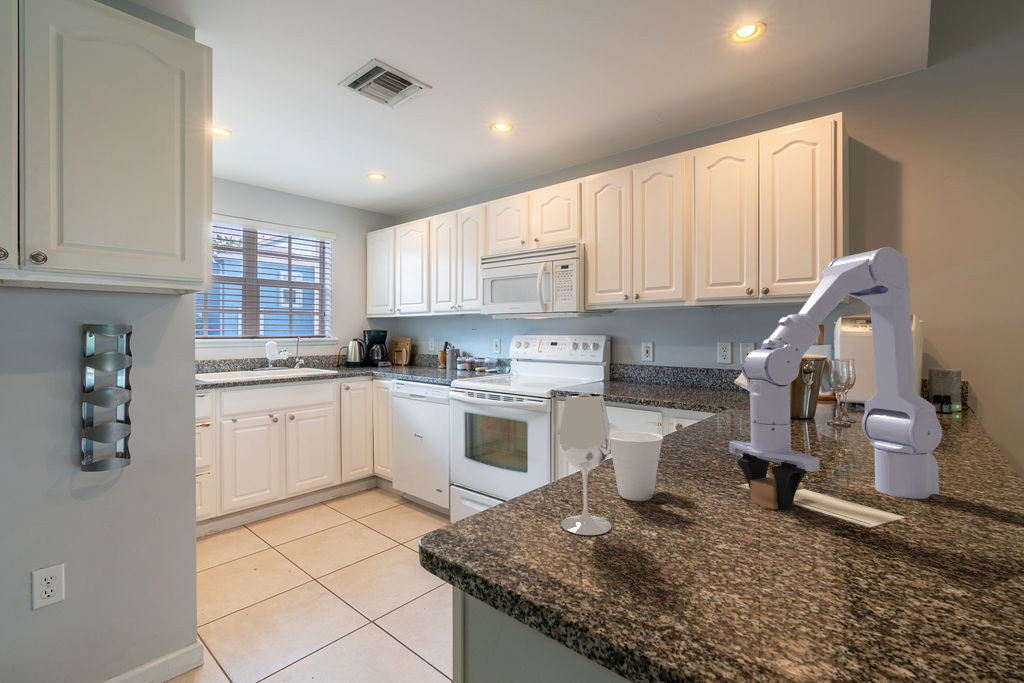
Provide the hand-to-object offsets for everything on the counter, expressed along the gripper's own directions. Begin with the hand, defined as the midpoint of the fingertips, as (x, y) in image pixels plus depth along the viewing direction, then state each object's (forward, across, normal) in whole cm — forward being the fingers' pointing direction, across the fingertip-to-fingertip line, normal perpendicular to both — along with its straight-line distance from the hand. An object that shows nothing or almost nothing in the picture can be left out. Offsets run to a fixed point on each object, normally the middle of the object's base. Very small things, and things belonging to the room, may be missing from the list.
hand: (771, 505), depth 76 cm
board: (+1, +2, +8) cm, 8 cm away
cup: (+1, -16, -14) cm, 22 cm away
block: (+1, 0, +2) cm, 3 cm away
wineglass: (+1, -8, -30) cm, 32 cm away
